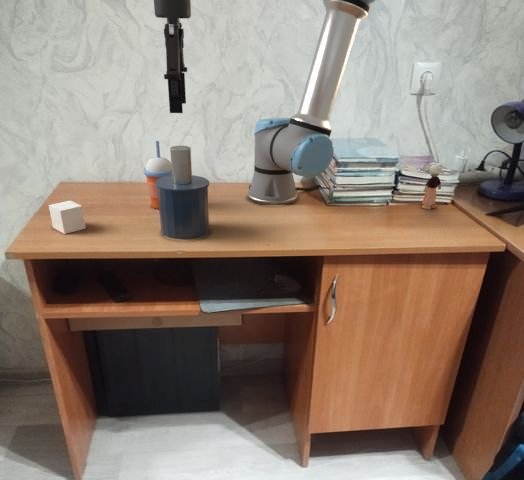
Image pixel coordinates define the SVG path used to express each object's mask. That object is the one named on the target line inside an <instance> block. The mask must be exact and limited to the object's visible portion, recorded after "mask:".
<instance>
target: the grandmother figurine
mask: <svg viewBox="0 0 524 480" xmlns="http://www.w3.org/2000/svg"><path fill="white" fill-rule="evenodd" d="M441 173H442V167H441V166H440V165H439V164H438V163H437V164H436V163H435V164H432V165H431V166H430V168H429V175H430V176H431V177H430V178H428V180H427V181H426V183H425V185H424V188H423V193H424V195H423V198H422V202H421V204H422V206H421V208H422V209H425V210H432V209H435V208H436V200H437V189H438V190H442V182H441V180H440V177H439V175H440V174H441Z"/></svg>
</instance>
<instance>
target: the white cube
mask: <svg viewBox="0 0 524 480" xmlns="http://www.w3.org/2000/svg"><path fill="white" fill-rule="evenodd" d="M48 210H49V214H50V220H51V225H52V228H53V229H54V230H56V231H58V232H60V233H62V234H64V235H66V234H70V233H74V232H78V231H81V230H85V229H87V227H86V222H85V216H84V210H83V205H81V204H79V203H77V202H75V201H73V200H66V201H61V202H57V203H52V204H48Z"/></svg>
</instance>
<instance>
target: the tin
mask: <svg viewBox="0 0 524 480" xmlns="http://www.w3.org/2000/svg"><path fill="white" fill-rule="evenodd" d="M158 199H159V209H158V210H159V221H160V222H159V223H160V233H161V235H162V237H164V236H165V237H167V238H169V239H174V240H184V241H185V240H194V239H201V238H202V237H205V236H207V234H209V233H210V217H209V216H210V215H209V186H208V187H207V188H205V189H202V190H198V191H192V192H171V191H165V190H161V189H159V188H158Z"/></svg>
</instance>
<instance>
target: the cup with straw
mask: <svg viewBox="0 0 524 480" xmlns="http://www.w3.org/2000/svg"><path fill="white" fill-rule="evenodd" d="M155 149H156V157H151V159H149V160H148V161H147V163H146V164H145V167H144V168H143V170H142V172H143V174H144V175H145V177H146V185H147V192H148V196H149V198H150V204H151V208H154V209H156V210H159V199H158V188H157V187H156V185H155V182H156V180H158V179H159V178H162V177H166V176H172V167H171V160H170V159H168V158H166V157H163V156H161V151H160V150H161V149H160V141H159V140H155Z"/></svg>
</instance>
